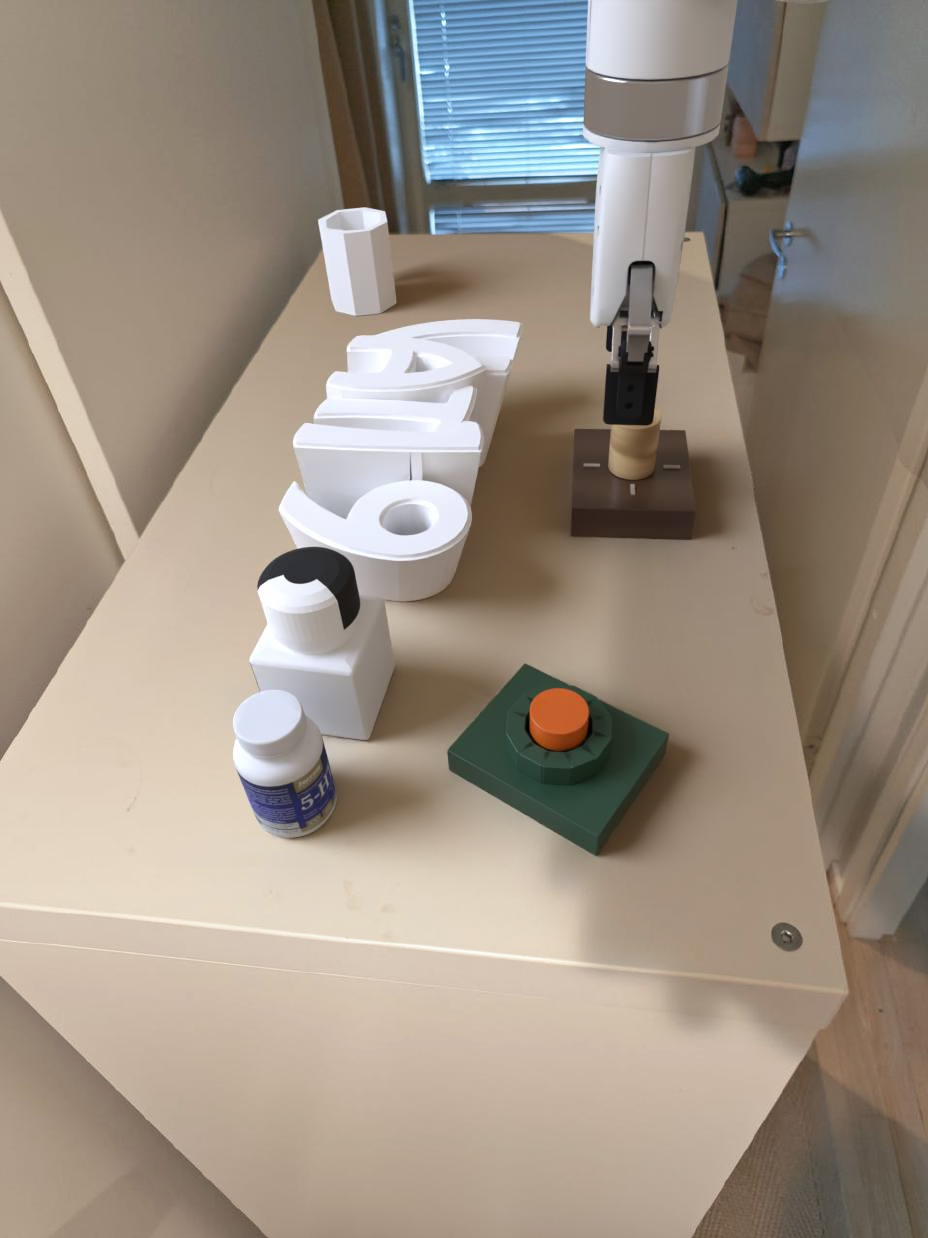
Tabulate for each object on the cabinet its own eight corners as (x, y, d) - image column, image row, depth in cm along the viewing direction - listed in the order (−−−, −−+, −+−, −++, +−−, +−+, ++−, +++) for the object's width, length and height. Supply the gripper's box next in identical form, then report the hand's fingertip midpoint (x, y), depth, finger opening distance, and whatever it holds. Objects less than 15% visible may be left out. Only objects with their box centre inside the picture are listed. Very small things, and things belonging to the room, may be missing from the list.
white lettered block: (387, 389, 90) (375, 293, 83) (540, 401, 87) (541, 301, 80) (257, 616, 67) (224, 509, 59) (461, 644, 63) (452, 534, 56)
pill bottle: (324, 845, 52) (296, 759, 46) (243, 834, 53) (205, 748, 46) (347, 773, 55) (324, 685, 49) (272, 764, 56) (240, 676, 50)
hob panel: (691, 539, 70) (696, 509, 68) (570, 536, 72) (571, 506, 69) (681, 457, 79) (685, 428, 77) (573, 455, 80) (574, 426, 78)
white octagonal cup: (387, 317, 103) (377, 234, 96) (321, 314, 105) (306, 232, 98) (413, 276, 111) (405, 196, 104) (351, 273, 113) (339, 195, 106)
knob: (640, 448, 75) (646, 395, 71) (663, 472, 72) (671, 418, 68) (599, 460, 74) (603, 406, 70) (622, 484, 71) (627, 430, 67)
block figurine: (305, 654, 63) (270, 529, 55) (396, 665, 62) (375, 538, 54) (270, 729, 58) (226, 604, 50) (369, 743, 57) (341, 616, 49)
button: (598, 721, 53) (600, 704, 52) (568, 761, 51) (569, 743, 50) (549, 697, 55) (550, 679, 53) (518, 734, 53) (518, 716, 51)
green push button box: (665, 754, 55) (673, 715, 52) (596, 856, 50) (599, 820, 47) (524, 683, 60) (524, 644, 57) (448, 770, 55) (444, 732, 52)
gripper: (589, 66, 53) (578, 326, 65) (577, 153, 41) (566, 453, 53) (712, 62, 52) (678, 327, 64) (737, 151, 40) (689, 457, 52)
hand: (627, 384), depth 58 cm, fingers open, 9 cm apart
